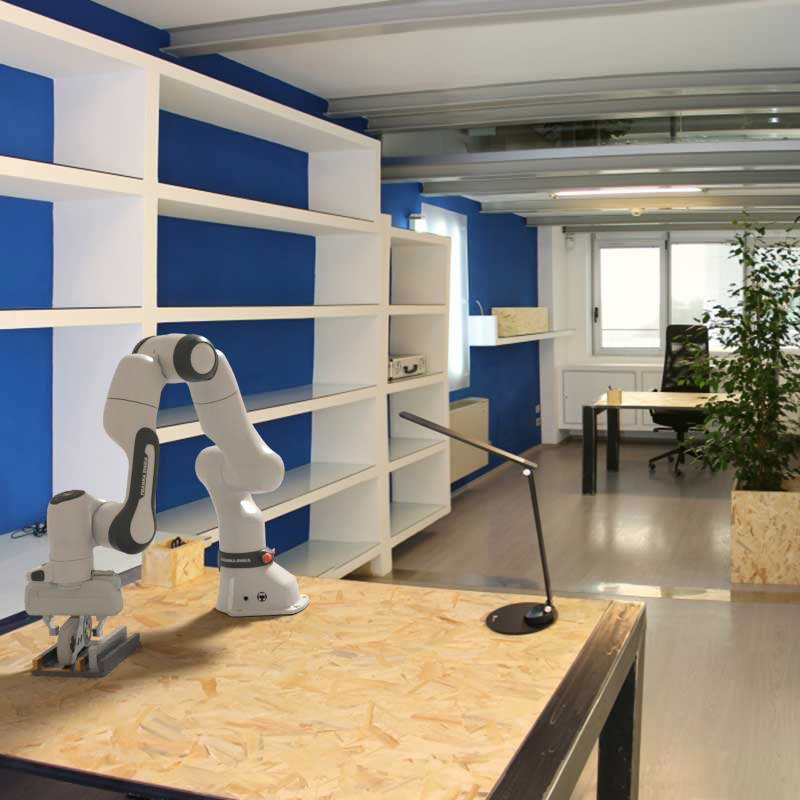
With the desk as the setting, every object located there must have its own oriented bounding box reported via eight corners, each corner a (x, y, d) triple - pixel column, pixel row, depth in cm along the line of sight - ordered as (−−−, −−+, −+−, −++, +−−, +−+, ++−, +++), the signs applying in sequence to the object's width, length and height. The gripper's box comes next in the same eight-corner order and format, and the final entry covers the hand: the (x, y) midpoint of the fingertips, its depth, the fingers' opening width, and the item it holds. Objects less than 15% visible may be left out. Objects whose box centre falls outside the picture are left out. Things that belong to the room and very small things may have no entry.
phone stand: (141, 645, 220) (139, 622, 220) (103, 677, 201) (102, 652, 201) (75, 644, 222) (73, 621, 222) (32, 675, 203) (30, 650, 203)
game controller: (69, 670, 202) (67, 629, 201) (57, 671, 202) (55, 629, 201) (94, 640, 221) (92, 602, 221) (83, 640, 221) (81, 603, 221)
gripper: (126, 566, 212) (129, 631, 213) (33, 566, 215) (37, 630, 216) (113, 574, 206) (117, 641, 207) (18, 573, 209) (22, 639, 210)
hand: (76, 635), depth 212 cm, fingers open, 8 cm apart
